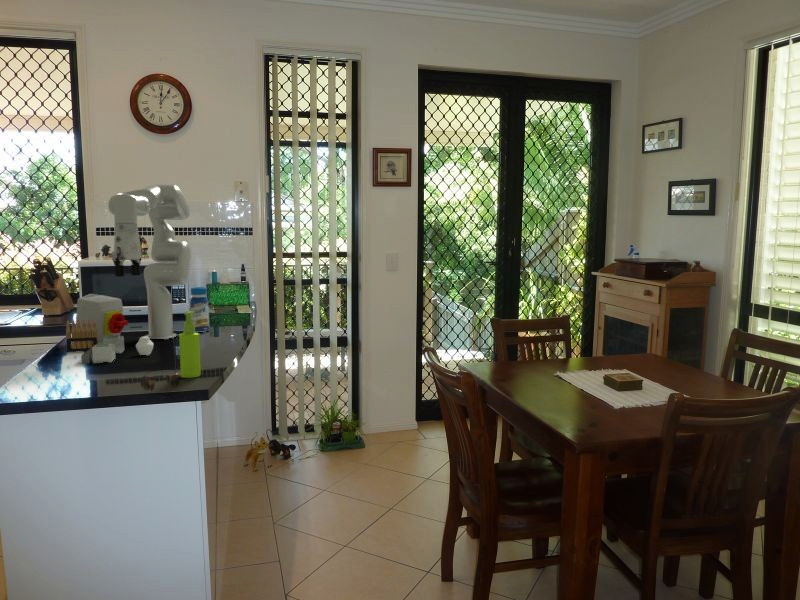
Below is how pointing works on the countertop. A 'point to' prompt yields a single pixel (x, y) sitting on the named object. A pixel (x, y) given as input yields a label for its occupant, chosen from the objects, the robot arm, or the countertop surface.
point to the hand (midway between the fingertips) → (128, 275)
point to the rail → (104, 350)
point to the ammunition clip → (80, 336)
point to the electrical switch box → (101, 314)
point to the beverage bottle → (200, 308)
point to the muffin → (144, 346)
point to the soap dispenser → (189, 349)
